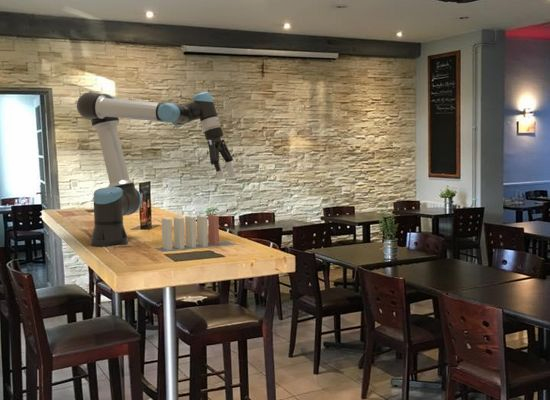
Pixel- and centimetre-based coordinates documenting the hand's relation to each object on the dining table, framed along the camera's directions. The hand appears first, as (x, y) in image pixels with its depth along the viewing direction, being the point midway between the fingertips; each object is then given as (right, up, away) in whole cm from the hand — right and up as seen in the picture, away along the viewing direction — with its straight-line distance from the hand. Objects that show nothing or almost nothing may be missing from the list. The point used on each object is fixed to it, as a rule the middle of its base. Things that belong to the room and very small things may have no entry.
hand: (227, 177), depth 257 cm
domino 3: (-14, -28, -11) cm, 33 cm away
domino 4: (-9, -28, -9) cm, 31 cm away
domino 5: (-5, -27, -6) cm, 29 cm away
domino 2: (-18, -28, -14) cm, 36 cm away
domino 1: (-22, -28, -17) cm, 40 cm away
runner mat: (-12, -28, -10) cm, 32 cm away
